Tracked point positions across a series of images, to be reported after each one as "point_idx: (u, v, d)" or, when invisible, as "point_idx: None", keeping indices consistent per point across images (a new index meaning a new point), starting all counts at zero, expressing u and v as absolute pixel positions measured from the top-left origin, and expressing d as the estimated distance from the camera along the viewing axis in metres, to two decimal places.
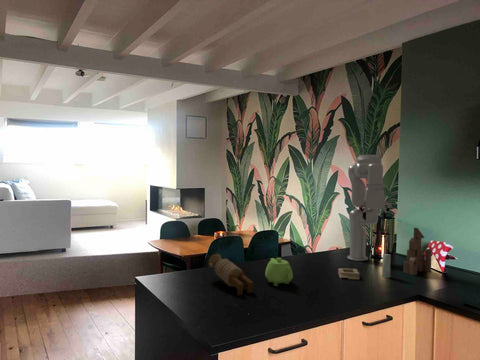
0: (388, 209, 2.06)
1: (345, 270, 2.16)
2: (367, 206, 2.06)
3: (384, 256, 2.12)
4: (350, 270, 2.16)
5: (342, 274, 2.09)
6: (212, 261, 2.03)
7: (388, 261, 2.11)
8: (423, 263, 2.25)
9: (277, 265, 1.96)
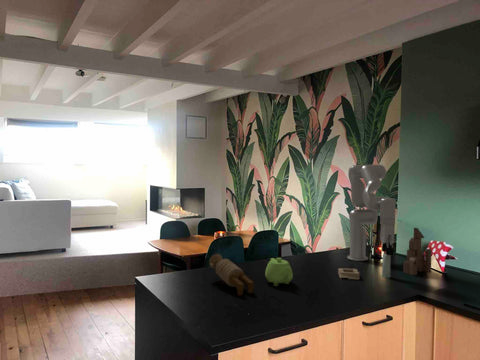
0: None
1: (345, 270, 2.16)
2: (393, 241, 2.08)
3: (384, 256, 2.12)
4: (350, 270, 2.16)
5: (342, 274, 2.09)
6: (213, 261, 2.03)
7: (388, 261, 2.11)
8: (423, 263, 2.25)
9: (277, 265, 1.96)
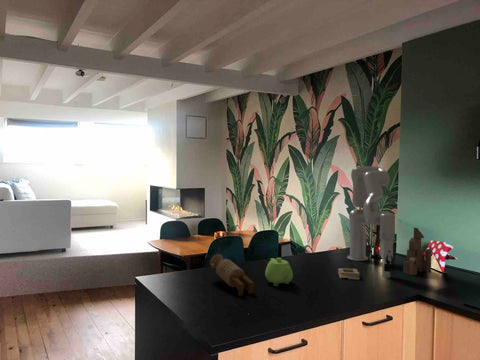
0: None
1: (345, 270, 2.16)
2: (392, 256, 2.09)
3: None
4: (350, 270, 2.16)
5: (342, 274, 2.09)
6: (213, 261, 2.03)
7: None
8: (423, 263, 2.25)
9: (277, 265, 1.96)
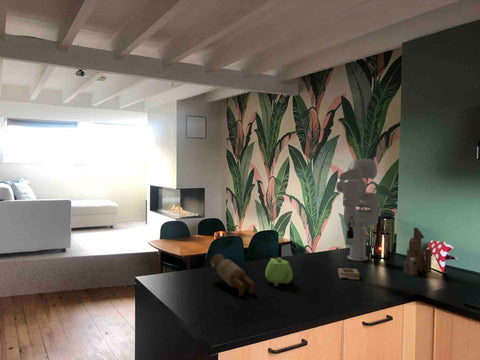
0: None
1: (345, 270, 2.16)
2: (355, 222, 2.08)
3: None
4: (350, 270, 2.16)
5: (342, 274, 2.09)
6: (214, 261, 2.03)
7: None
8: (423, 263, 2.25)
9: (277, 265, 1.96)
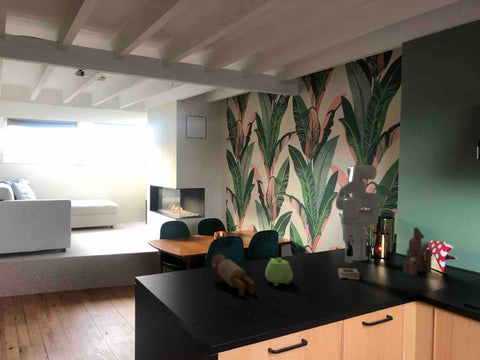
0: None
1: (345, 270, 2.16)
2: (354, 241, 2.08)
3: None
4: (350, 270, 2.16)
5: (342, 274, 2.09)
6: (215, 261, 2.03)
7: None
8: (423, 263, 2.25)
9: (277, 265, 1.96)
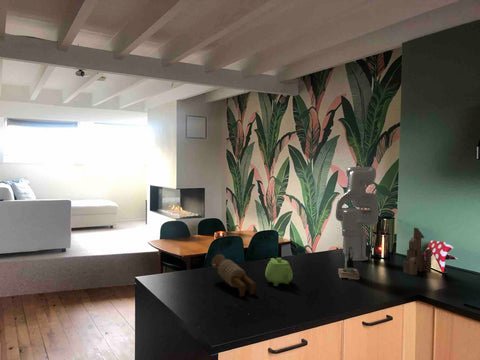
0: None
1: None
2: (354, 253, 2.09)
3: (346, 256, 2.12)
4: None
5: (342, 274, 2.09)
6: (215, 262, 2.02)
7: None
8: (423, 263, 2.25)
9: (277, 265, 1.96)
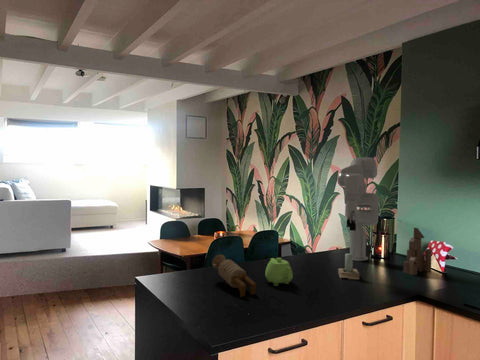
0: None
1: None
2: (356, 216, 2.11)
3: (346, 255, 2.12)
4: None
5: (342, 274, 2.09)
6: (216, 262, 2.02)
7: (350, 260, 2.11)
8: (423, 263, 2.25)
9: (277, 265, 1.96)
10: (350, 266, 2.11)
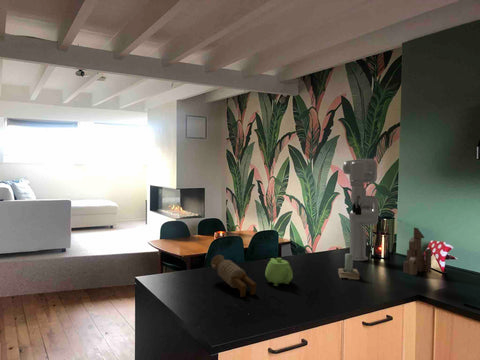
0: None
1: None
2: (361, 201, 2.21)
3: (346, 255, 2.12)
4: None
5: (342, 274, 2.09)
6: (215, 262, 2.01)
7: (350, 260, 2.11)
8: (423, 263, 2.25)
9: (277, 265, 1.96)
10: (350, 266, 2.11)
